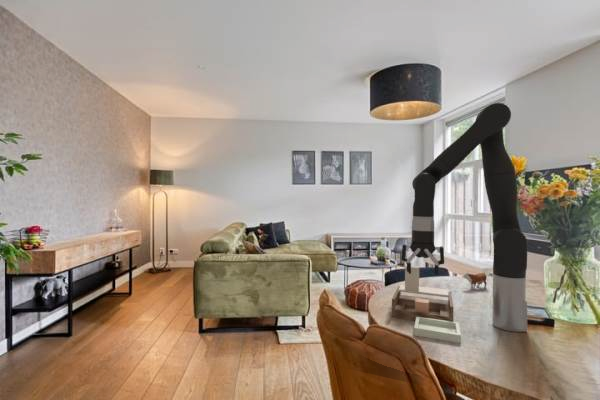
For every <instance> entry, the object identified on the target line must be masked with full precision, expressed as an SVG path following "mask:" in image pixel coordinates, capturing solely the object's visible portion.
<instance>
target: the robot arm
mask: <svg viewBox="0 0 600 400" xmlns="http://www.w3.org/2000/svg"><path fill="white" fill-rule="evenodd" d="M511 117H512V112H511V109H510V107H509V106H508V105H507V104H505V103H502V102H493V103H491V104H489V105H486V106H485V107H484V108H483V109H481V111H479V113H478V114H477V115H476V118H475V121H474V122H473V124H472V125H470V127H469V128H468V129H467V130H466V131H464V133H462V134H461V135H460V136H459V137H458V138H457V139H455V140H454V142H452V143H451V144H449V146H447V147H446V148H445V149H444V150H443V151H442V152H441V153H440V154H438V156H437V157H435V159H433V160H432V162H431V163H430V164H429V165H428V166H427V167H425V168H424V169H423V170H422V171H421V172H419V173H418V174H417V175H416V176H415V177H414V178H413V180H412V183H411V184H412V188H413V190H414V201H413V204H412V220H411V244H406V243H403V244H402V245H401V246H402V247H401V258H400V259H401V261H403V262H404V263H406V266H407V272H409V274H411V266H412V261H413V260H414V258H424V259H428V258H429V259H430V260H431V261H432V262H433V265H434V267H433V268H434V269H433V271H434V272H433V274H434V275H433V276H434V277H437V275H439V269H440V267H439V266H440V265H444V264H445V250H444V246H443V245H440V246H435V217H434V216H435V215H434V214H435V211H434V210H435V209H434V205H435V203H434V202H435V201H434V200H435V197H436V196H435V195H436V186H437V185H436V184H438V183H439V182H440V181H441V180H442V179H443V178H445V177H447V176H448V175H449V174H450V173H451V172H452V171H453V170H455V169H456V168H457V167H458V166H459V165H460V164H461V163H462V162H463V161H464V160H465V159H466V158H467V157H468V156H469V155H470V154H471V153H472V152H473V151H474V150H475V149H476V148H477V147H478V146H479V145H480V150H481V162H482V169H483V180H484V185H485V191H486V192H485V193H486V195H487V200H488V204H489V208H490V211H491V215H492V243H493V262H492V263H493V265H492V325H493V326H494V327H496V328H498V329H500V330H504V331H509V332H514V333H516V332H517V333H522V332H523V333H527V332H528V301H526V278H527V277H526V276H527V275H526V274H527V268H528V240H527V238H526V236H525V234H524V233H523V232H522V230H521V225H520V222H519V218H518V214H517V213H518V212H517V210H518V209H517V208H518V207H517V206H518V205H517V204H518V181H517V175H516V169H515V167H514V163H513V161H512V160H511V158H510V156H509V153H508V152H507V149H506V146H505V142H504V128H505V127H506V126H507V125H508V124H509V123H510V120H511ZM409 249H410V250H411V252H412V254H410V256H409V257H406V256H407V251H408V250H409ZM435 251H437V253H438V254H439V258H440V259H439V260H438V259H437V258H436V257H435V255H434V254H433V253H435Z"/></svg>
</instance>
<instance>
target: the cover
mask: <svg viewBox="0 0 600 400" xmlns="http://www.w3.org/2000/svg"><path fill="white" fill-rule="evenodd" d="M399 286H400V288H399V292H401V293H408V294H417V295H422V296H423V295H425V296H434V297H439V298H440V297H442V298H448V297H449V294H448V293H449V289H446V288H437V287H426V286H420V266H412V265H411V274H409V272H407V265H405V266H404V284H400V285H399Z"/></svg>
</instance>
